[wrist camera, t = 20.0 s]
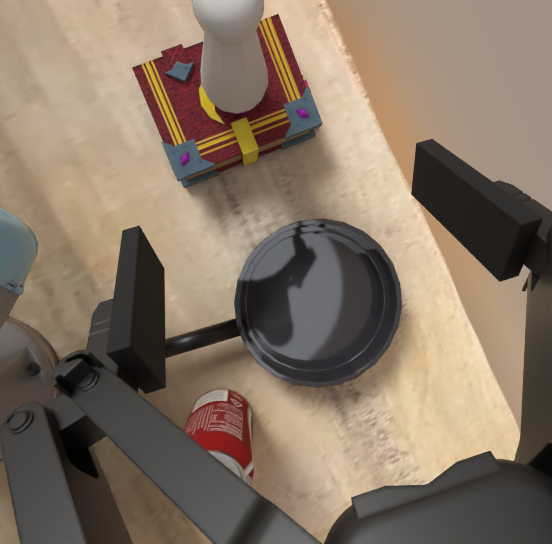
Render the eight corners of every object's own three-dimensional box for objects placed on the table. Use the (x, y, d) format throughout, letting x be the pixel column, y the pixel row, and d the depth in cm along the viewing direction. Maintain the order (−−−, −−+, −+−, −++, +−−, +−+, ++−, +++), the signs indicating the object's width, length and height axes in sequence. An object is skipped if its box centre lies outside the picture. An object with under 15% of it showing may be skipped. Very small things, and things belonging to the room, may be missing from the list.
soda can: (188, 389, 39) (161, 450, 27) (249, 382, 39) (249, 439, 28) (194, 449, 39) (170, 534, 27) (254, 441, 40) (257, 521, 28)
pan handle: (244, 314, 37) (244, 317, 35) (249, 330, 37) (249, 334, 35) (123, 350, 36) (116, 355, 34) (128, 367, 36) (122, 373, 34)
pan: (211, 338, 39) (207, 348, 35) (274, 197, 39) (277, 190, 35) (349, 396, 40) (360, 411, 37) (410, 260, 40) (428, 261, 36)
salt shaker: (256, 51, 33) (262, -80, 20) (274, 112, 33) (291, 22, 20) (195, 67, 32) (161, -57, 20) (214, 129, 33) (192, 47, 20)
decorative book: (142, 87, 37) (126, 61, 32) (285, 34, 38) (290, 1, 33) (185, 189, 38) (176, 179, 33) (323, 135, 39) (335, 118, 34)
